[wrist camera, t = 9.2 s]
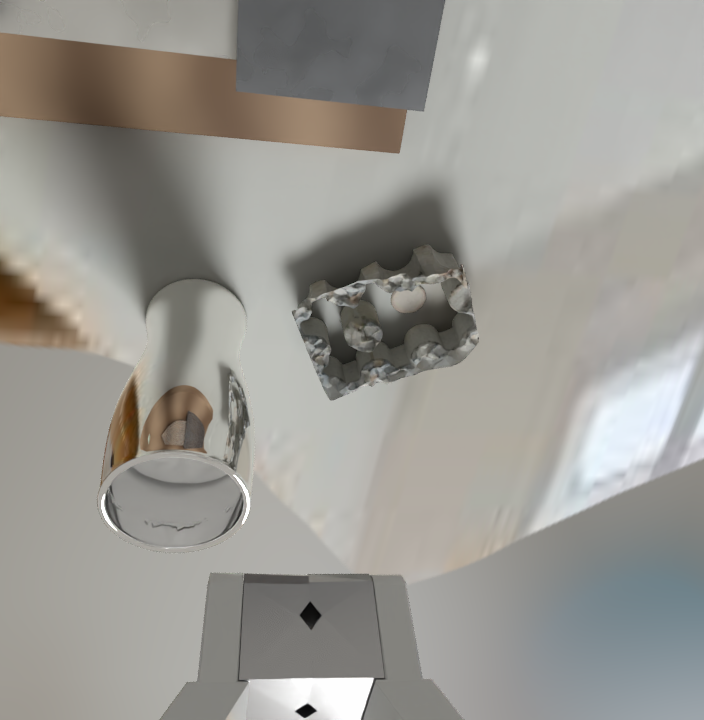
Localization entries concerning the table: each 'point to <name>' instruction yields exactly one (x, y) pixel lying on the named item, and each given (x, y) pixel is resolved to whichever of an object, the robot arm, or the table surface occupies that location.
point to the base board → (174, 96)
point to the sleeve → (339, 50)
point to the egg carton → (365, 331)
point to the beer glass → (182, 427)
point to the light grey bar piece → (130, 23)
